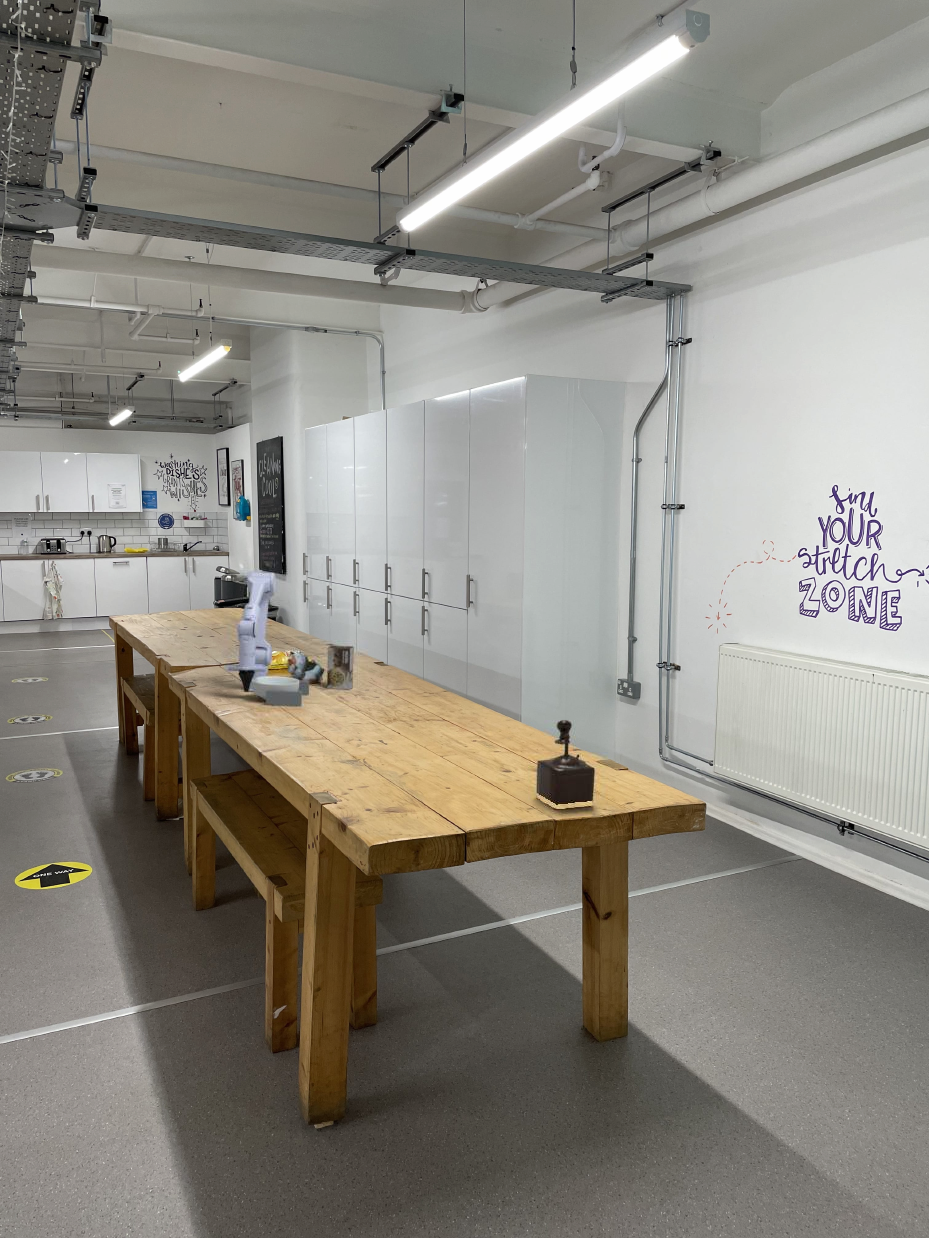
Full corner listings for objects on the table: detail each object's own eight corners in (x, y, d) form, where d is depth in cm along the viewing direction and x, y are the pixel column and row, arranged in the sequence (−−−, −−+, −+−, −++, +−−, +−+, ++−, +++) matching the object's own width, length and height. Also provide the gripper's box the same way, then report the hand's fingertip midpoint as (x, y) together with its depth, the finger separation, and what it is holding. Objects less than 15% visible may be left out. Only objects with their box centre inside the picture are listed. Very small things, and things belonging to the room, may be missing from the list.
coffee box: (353, 687, 345) (354, 646, 343) (349, 690, 338) (350, 648, 337) (330, 685, 345) (331, 644, 344) (326, 688, 339) (327, 647, 337)
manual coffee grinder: (596, 806, 208) (601, 732, 207) (555, 810, 204) (559, 734, 202) (563, 787, 223) (568, 717, 221) (524, 791, 218) (528, 719, 216)
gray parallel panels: (276, 693, 325) (276, 679, 325) (308, 694, 326) (309, 681, 326) (266, 705, 304) (266, 690, 304) (301, 706, 305) (301, 692, 304)
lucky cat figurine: (319, 685, 345) (303, 655, 340) (293, 694, 347) (276, 664, 343) (328, 668, 358) (313, 639, 354) (303, 677, 361) (287, 649, 357)
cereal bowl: (287, 705, 305) (287, 685, 304) (242, 701, 308) (243, 681, 308) (306, 697, 321) (306, 677, 320) (264, 693, 325) (264, 674, 324)
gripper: (224, 654, 308) (223, 692, 310) (265, 656, 309) (265, 694, 311) (228, 651, 315) (227, 689, 317) (269, 653, 316) (268, 690, 318)
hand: (246, 691), depth 314 cm, fingers closed
